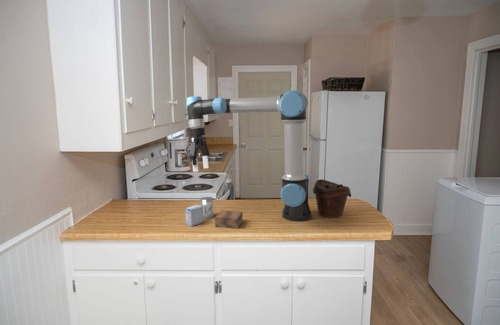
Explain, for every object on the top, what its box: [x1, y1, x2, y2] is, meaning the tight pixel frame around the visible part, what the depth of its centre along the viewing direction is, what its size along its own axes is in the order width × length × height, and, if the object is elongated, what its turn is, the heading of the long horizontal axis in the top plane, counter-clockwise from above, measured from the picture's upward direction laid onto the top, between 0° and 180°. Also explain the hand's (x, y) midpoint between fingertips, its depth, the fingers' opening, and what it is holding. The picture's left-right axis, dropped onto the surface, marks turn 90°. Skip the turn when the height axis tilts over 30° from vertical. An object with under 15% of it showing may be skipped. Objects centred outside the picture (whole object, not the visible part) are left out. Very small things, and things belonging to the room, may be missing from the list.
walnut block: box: [214, 210, 243, 229], centre depth 171 cm, size 11×11×5 cm
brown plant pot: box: [312, 179, 352, 218], centre depth 185 cm, size 18×20×18 cm
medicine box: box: [184, 204, 204, 227], centre depth 171 cm, size 8×4×9 cm, turn 141°
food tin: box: [200, 196, 214, 220], centre depth 181 cm, size 7×7×10 cm
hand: (201, 170), depth 175 cm, fingers open, 13 cm apart
